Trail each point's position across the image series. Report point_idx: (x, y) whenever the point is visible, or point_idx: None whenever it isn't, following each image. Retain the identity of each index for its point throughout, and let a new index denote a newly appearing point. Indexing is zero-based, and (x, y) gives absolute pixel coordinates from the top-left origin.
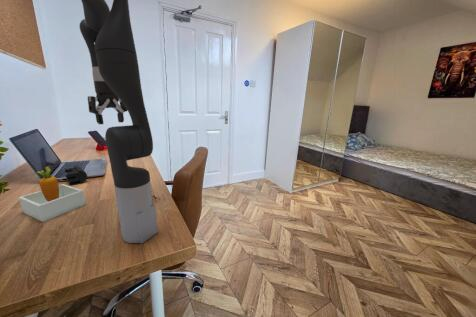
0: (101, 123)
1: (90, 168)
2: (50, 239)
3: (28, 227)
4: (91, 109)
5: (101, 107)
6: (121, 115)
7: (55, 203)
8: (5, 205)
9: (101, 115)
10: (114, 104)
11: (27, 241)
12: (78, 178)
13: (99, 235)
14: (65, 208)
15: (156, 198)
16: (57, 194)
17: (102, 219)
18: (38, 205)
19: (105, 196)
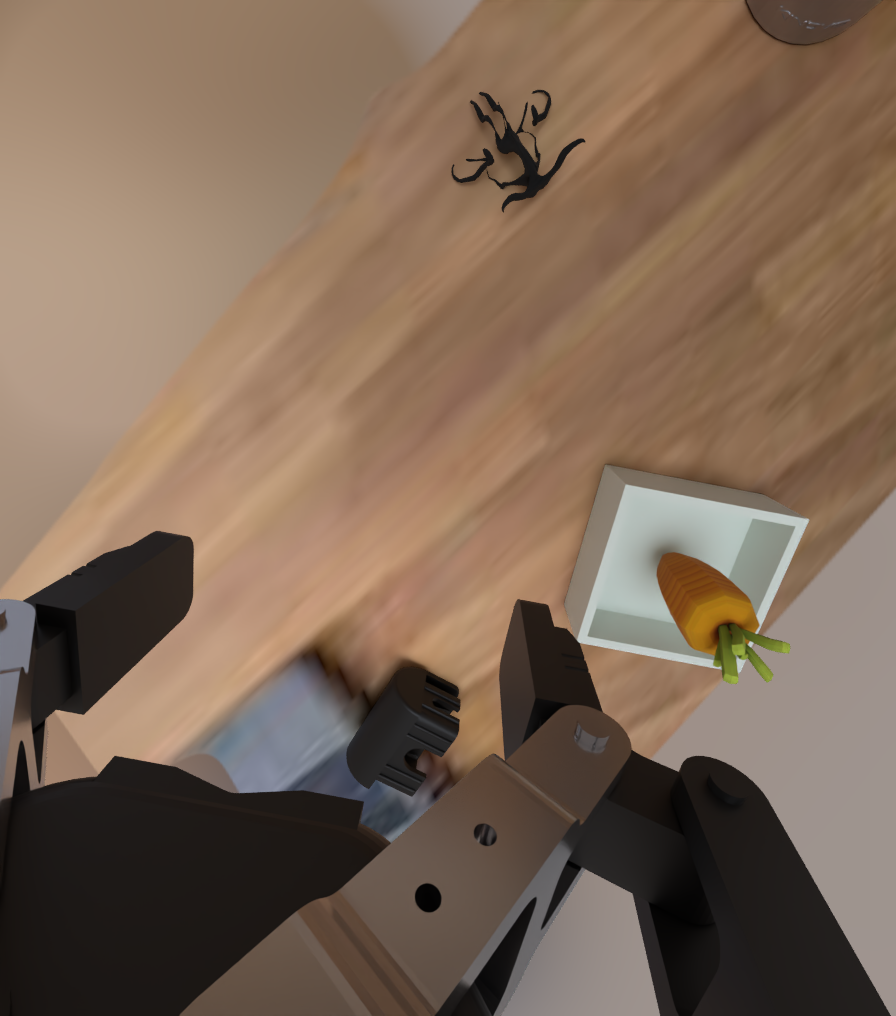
0: (547, 609)
1: (258, 781)
2: (874, 348)
3: (801, 509)
4: (702, 918)
5: (574, 830)
6: (98, 585)
7: (742, 502)
8: (667, 736)
9: (548, 689)
10: (16, 846)
11: (888, 419)
12: (426, 691)
13: (840, 163)
14: (692, 484)
15: (493, 100)
16: (681, 561)
17: (714, 268)
18: (805, 525)
19: (510, 447)
